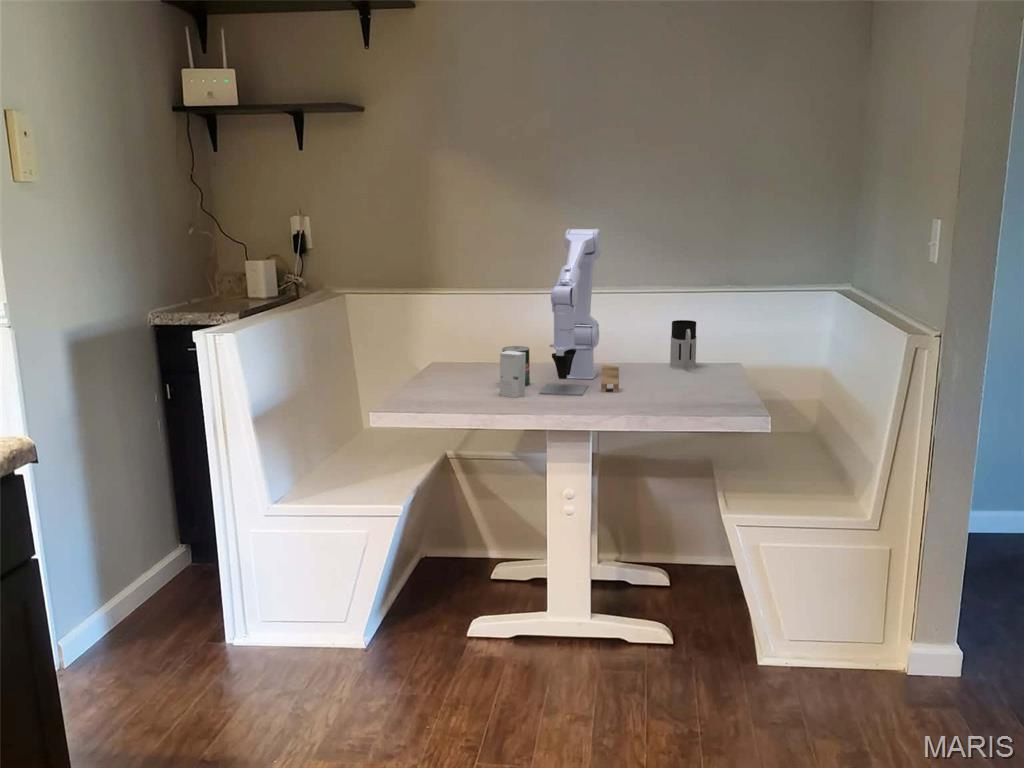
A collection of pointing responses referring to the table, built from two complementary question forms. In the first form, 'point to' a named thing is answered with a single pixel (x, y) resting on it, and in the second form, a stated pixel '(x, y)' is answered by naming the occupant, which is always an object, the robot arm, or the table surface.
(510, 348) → the canned tomato
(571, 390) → the slate mat
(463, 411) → the table surface
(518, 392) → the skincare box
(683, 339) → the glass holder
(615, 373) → the notched wooden block
